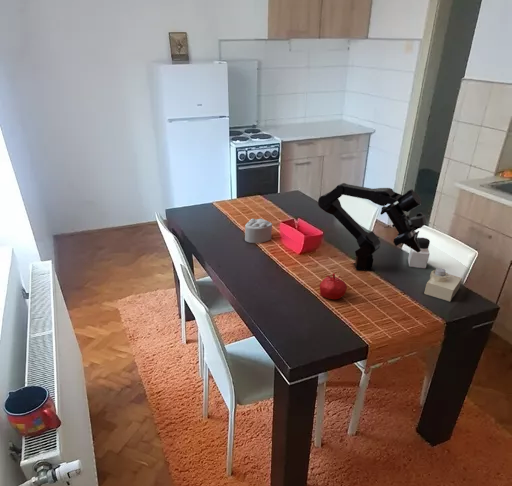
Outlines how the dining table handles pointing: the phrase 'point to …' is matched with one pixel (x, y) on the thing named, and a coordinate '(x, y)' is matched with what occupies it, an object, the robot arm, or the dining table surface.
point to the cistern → (442, 286)
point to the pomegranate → (332, 287)
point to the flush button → (440, 272)
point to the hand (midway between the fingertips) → (419, 251)
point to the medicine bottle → (419, 254)
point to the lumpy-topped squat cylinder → (258, 231)
